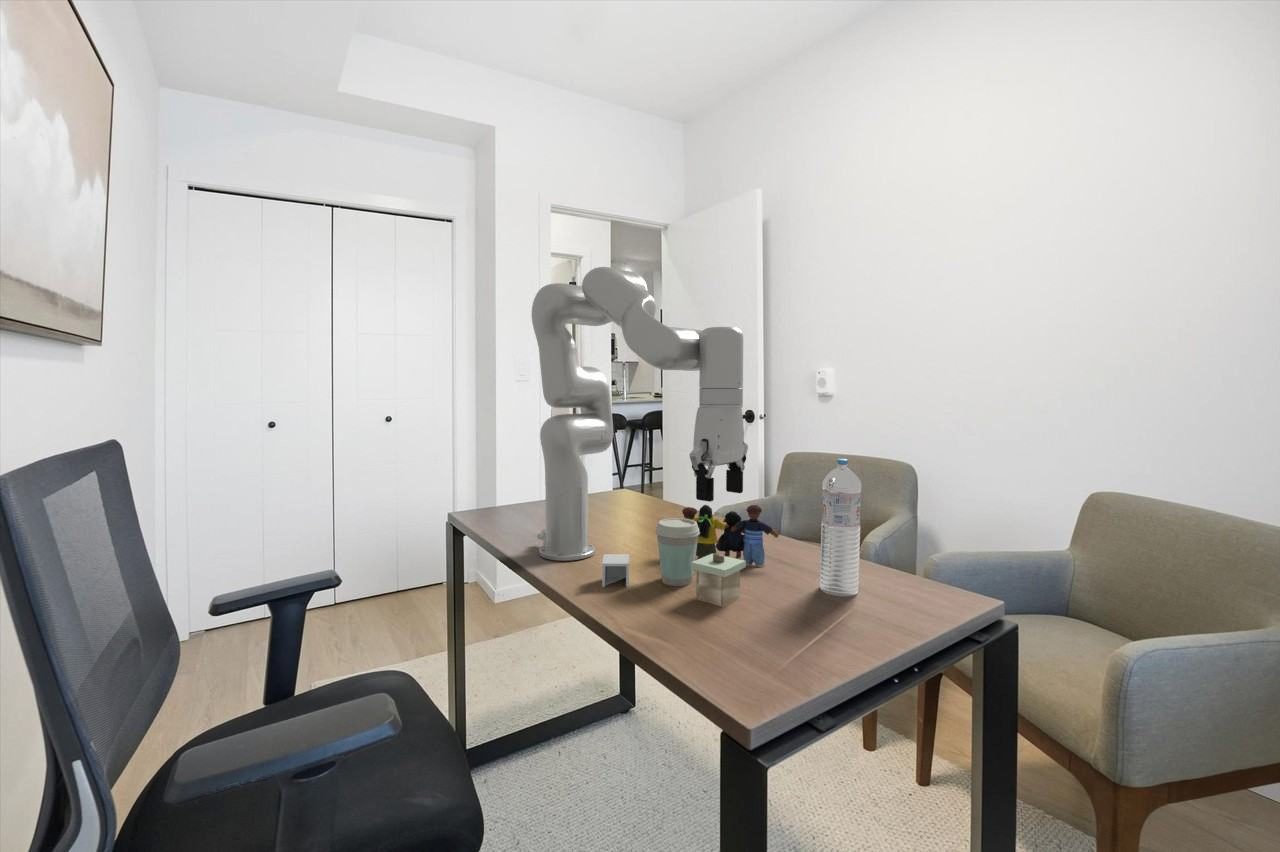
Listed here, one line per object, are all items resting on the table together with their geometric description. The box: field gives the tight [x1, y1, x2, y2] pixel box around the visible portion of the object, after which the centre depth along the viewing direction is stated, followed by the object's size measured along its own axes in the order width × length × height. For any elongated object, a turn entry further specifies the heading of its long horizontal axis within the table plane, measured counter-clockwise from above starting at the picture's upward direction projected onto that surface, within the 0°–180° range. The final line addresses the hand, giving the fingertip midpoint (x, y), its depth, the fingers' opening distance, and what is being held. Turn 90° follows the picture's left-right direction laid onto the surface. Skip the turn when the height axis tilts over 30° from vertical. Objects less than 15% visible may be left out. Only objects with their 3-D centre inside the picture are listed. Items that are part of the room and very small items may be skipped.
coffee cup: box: [655, 517, 700, 587], centre depth 116 cm, size 8×8×12 cm
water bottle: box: [819, 458, 862, 598], centre depth 110 cm, size 7×7×25 cm
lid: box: [691, 552, 747, 577], centre depth 106 cm, size 7×7×2 cm
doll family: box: [681, 504, 780, 569], centre depth 130 cm, size 23×9×13 cm, turn 81°
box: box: [695, 570, 741, 608], centre depth 106 cm, size 6×6×6 cm
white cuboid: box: [601, 553, 630, 588], centre depth 115 cm, size 6×5×5 cm
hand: (720, 496), depth 105 cm, fingers open, 9 cm apart
